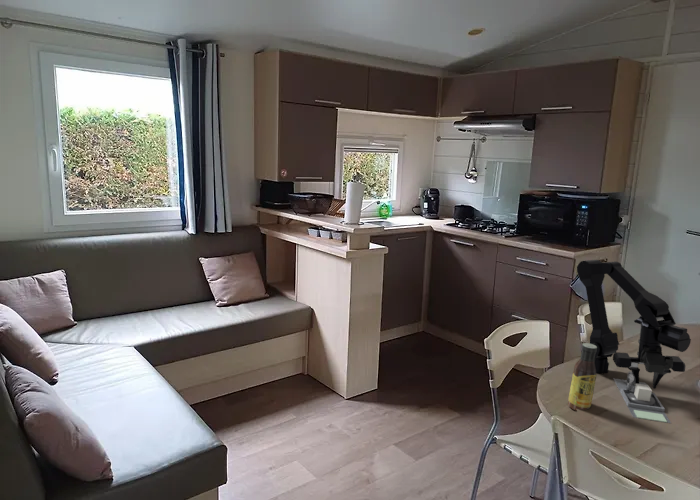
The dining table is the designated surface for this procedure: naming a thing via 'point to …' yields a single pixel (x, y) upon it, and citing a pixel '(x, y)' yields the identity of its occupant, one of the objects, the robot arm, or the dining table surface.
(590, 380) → the sauce bottle
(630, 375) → the pivoting lever handle
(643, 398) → the plug
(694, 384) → the dining table surface
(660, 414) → the socket base
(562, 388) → the dining table surface
